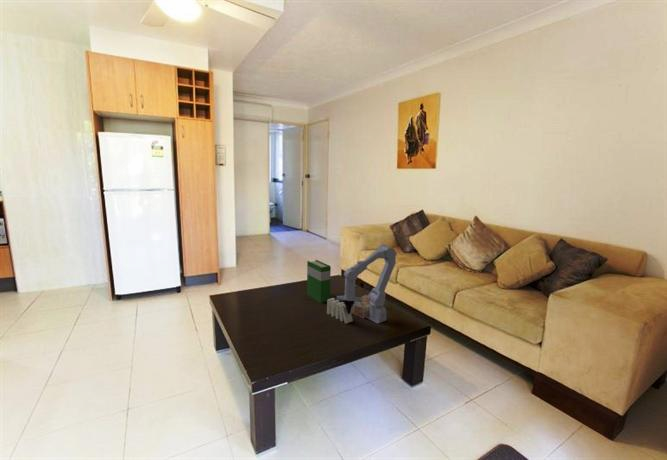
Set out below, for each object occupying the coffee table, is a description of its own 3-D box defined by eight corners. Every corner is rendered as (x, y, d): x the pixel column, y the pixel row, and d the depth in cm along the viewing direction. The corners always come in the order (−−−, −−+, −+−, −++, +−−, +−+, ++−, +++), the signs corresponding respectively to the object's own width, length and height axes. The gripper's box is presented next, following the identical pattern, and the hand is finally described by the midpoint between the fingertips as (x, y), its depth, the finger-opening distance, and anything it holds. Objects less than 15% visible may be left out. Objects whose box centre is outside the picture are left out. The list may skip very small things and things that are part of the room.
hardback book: (307, 294, 221) (307, 261, 217) (316, 292, 226) (316, 259, 221) (320, 303, 207) (321, 267, 203) (329, 300, 211) (330, 266, 207)
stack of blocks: (367, 293, 209) (383, 298, 201) (367, 302, 210) (383, 307, 202) (347, 302, 193) (363, 308, 185) (347, 312, 194) (363, 318, 186)
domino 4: (348, 319, 185) (347, 304, 184) (342, 321, 182) (341, 306, 181) (346, 318, 186) (345, 303, 185) (340, 320, 183) (339, 305, 182)
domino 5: (352, 320, 182) (349, 305, 183) (346, 323, 179) (343, 307, 180) (350, 320, 183) (347, 305, 184) (344, 323, 180) (341, 307, 181)
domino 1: (334, 312, 194) (335, 298, 192) (328, 314, 191) (328, 300, 189) (332, 311, 195) (333, 297, 193) (326, 313, 192) (327, 299, 190)
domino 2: (339, 314, 191) (339, 300, 189) (332, 316, 188) (333, 302, 186) (337, 313, 192) (337, 299, 190) (331, 315, 189) (331, 301, 187)
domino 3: (343, 317, 188) (343, 302, 186) (337, 319, 185) (337, 304, 183) (341, 316, 189) (342, 301, 187) (335, 318, 186) (336, 303, 184)
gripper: (363, 288, 180) (362, 311, 183) (338, 286, 183) (337, 308, 185) (362, 293, 173) (361, 316, 176) (336, 290, 176) (335, 313, 178)
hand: (349, 312), depth 180 cm, fingers closed
